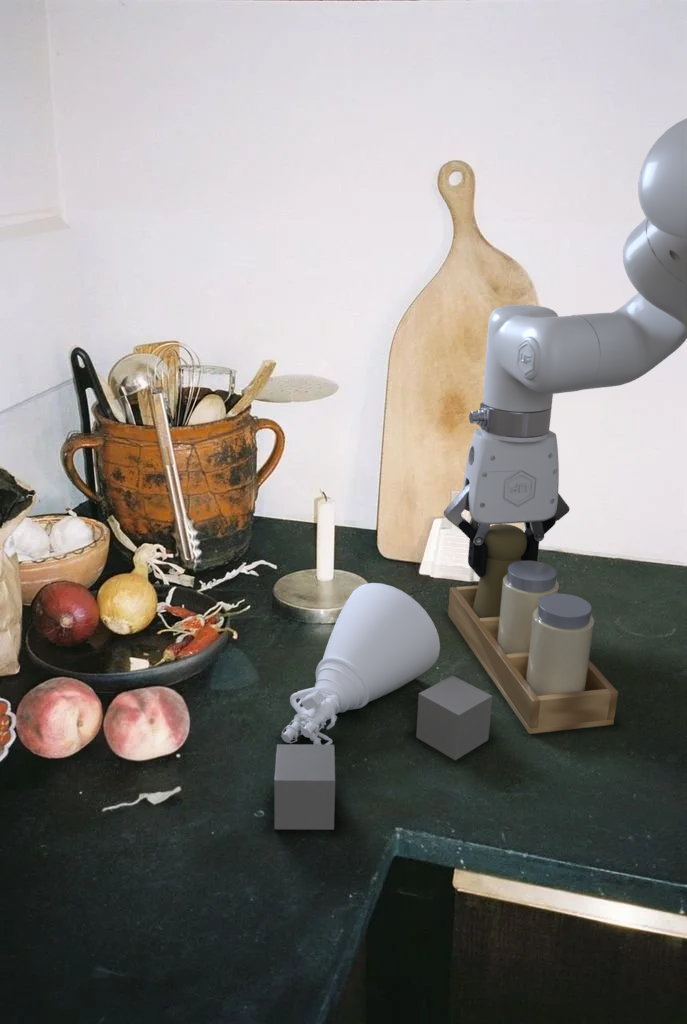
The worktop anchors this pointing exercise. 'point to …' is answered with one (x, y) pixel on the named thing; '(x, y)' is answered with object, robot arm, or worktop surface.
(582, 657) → the cream shaker
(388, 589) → the rocket engine
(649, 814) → the worktop surface
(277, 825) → the grey block
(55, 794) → the worktop surface
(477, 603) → the olive pepper mill
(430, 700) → the grey block
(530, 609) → the cream shaker
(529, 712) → the spice rack
